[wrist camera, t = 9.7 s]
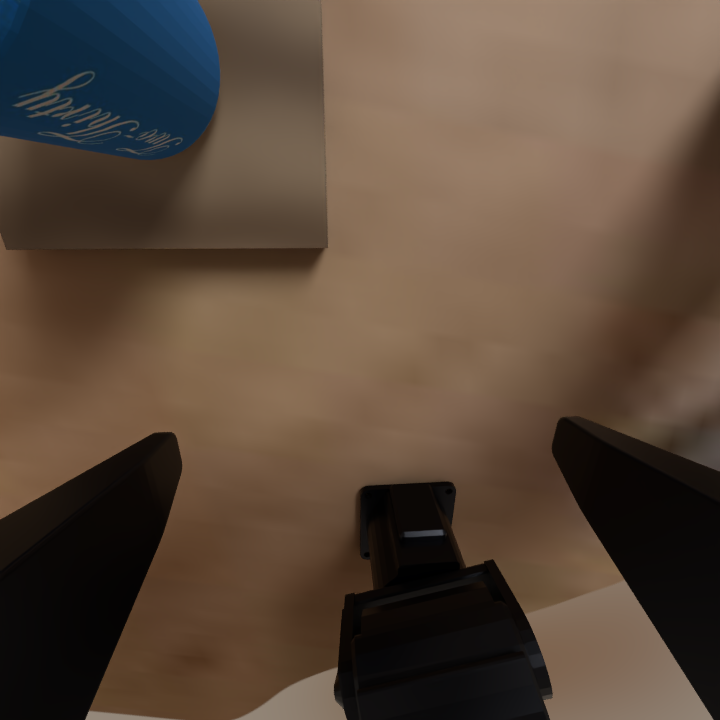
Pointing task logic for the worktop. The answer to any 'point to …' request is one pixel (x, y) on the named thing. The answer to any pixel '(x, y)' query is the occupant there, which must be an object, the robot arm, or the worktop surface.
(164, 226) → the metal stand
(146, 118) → the beverage can
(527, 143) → the worktop surface
